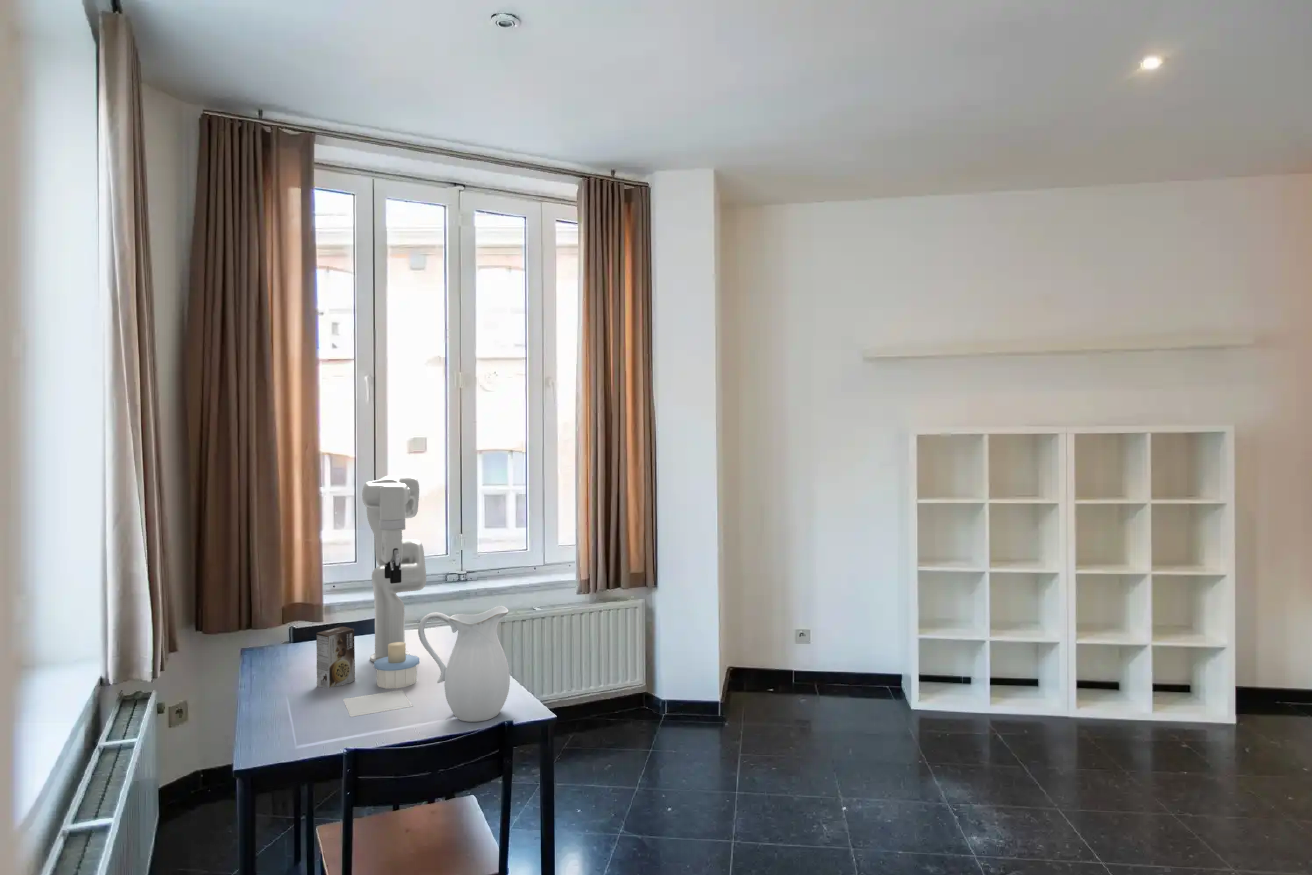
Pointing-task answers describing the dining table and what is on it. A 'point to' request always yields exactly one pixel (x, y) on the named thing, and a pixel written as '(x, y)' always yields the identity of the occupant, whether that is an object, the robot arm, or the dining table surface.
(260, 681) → the dining table surface
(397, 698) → the mat
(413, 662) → the lid
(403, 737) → the dining table surface
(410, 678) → the bowl
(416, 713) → the dining table surface
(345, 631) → the coffee box
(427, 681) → the dining table surface
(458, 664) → the pitcher
